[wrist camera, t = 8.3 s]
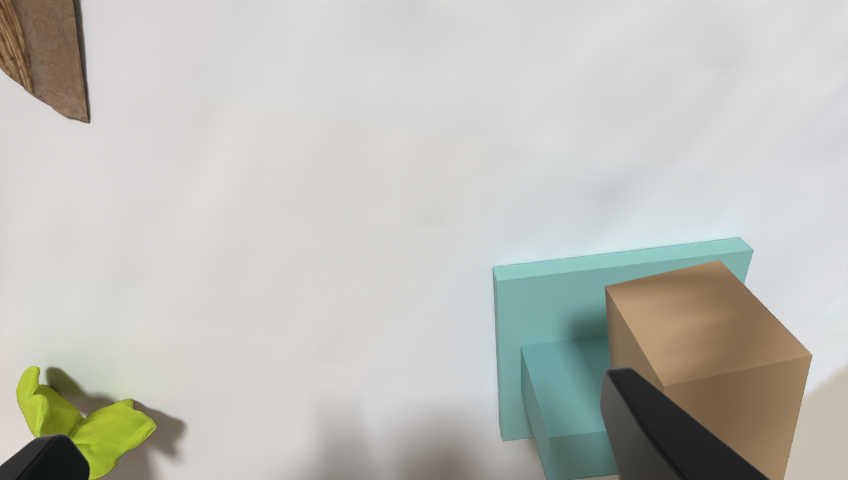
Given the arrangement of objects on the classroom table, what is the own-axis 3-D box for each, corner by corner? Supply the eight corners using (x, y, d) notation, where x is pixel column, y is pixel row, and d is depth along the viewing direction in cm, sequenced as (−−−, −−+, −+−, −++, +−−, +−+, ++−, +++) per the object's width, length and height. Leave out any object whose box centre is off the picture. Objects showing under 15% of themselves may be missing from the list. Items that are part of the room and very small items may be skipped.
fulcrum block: (739, 237, 22) (842, 330, 17) (695, 402, 28) (762, 508, 23) (492, 267, 22) (522, 367, 17) (499, 425, 28) (523, 535, 23)
